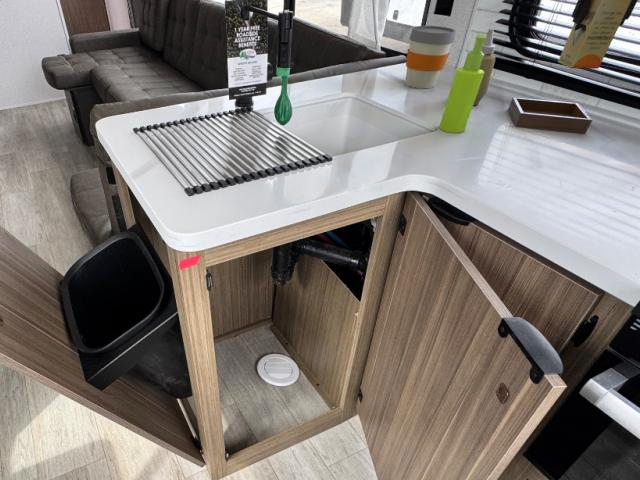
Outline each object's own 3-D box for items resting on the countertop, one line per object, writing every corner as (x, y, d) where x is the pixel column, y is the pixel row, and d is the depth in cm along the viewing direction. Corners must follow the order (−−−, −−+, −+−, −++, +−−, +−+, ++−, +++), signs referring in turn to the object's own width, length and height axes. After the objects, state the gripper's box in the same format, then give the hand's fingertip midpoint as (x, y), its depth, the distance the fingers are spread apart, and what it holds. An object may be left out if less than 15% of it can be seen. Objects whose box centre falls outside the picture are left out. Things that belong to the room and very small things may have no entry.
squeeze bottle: (487, 107, 120) (514, 32, 108) (458, 107, 120) (482, 32, 108) (475, 98, 126) (499, 26, 114) (447, 98, 126) (469, 26, 114)
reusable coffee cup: (391, 81, 139) (402, 27, 130) (422, 77, 143) (435, 24, 133) (417, 92, 131) (431, 34, 121) (449, 87, 134) (466, 31, 124)
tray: (571, 116, 115) (578, 103, 113) (585, 133, 105) (592, 120, 103) (507, 110, 118) (512, 97, 116) (515, 126, 109) (520, 113, 107)
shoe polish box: (570, 68, 81) (606, -11, 73) (557, 61, 84) (590, -14, 77) (598, 68, 81) (636, -11, 73) (584, 62, 84) (619, -14, 76)
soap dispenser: (465, 125, 109) (496, 33, 96) (463, 134, 104) (496, 39, 91) (440, 121, 111) (468, 31, 98) (438, 130, 106) (466, 36, 93)
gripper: (603, -115, 65) (548, 25, 77) (741, -118, 62) (661, 29, 73) (588, -112, 71) (539, 18, 83) (714, -115, 67) (644, 22, 79)
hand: (597, 22), depth 78 cm, fingers closed on shoe polish box, 5 cm apart
